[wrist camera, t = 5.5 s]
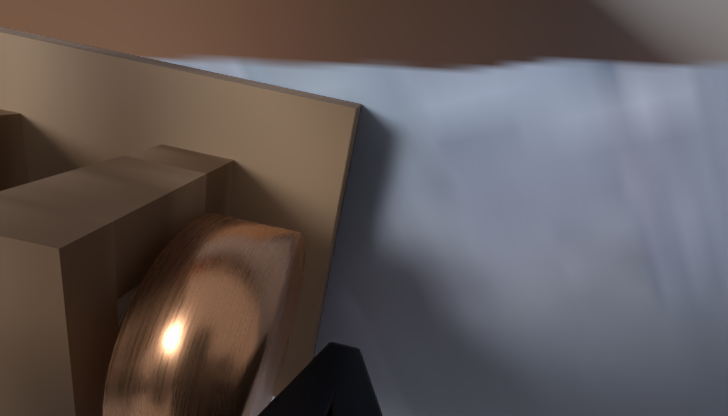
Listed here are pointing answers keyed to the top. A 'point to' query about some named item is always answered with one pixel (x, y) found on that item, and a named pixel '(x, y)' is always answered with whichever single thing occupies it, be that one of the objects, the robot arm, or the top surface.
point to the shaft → (208, 322)
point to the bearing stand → (141, 198)
